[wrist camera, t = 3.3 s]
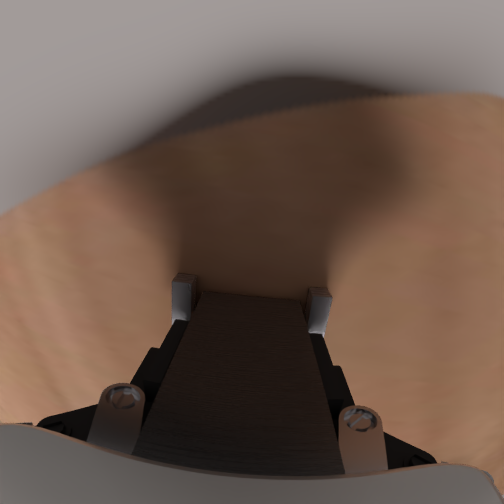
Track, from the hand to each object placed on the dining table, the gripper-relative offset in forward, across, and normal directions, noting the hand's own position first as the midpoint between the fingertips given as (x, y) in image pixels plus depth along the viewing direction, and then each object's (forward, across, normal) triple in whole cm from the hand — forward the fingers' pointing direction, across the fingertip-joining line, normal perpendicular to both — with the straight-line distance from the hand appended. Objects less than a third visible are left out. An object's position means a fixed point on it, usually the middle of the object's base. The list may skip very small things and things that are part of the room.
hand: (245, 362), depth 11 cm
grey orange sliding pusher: (+2, 0, +5) cm, 5 cm away
